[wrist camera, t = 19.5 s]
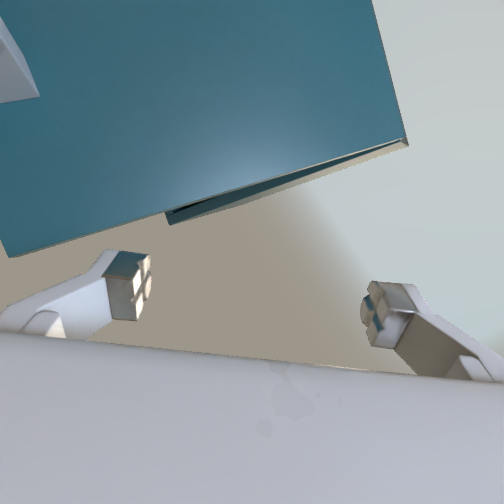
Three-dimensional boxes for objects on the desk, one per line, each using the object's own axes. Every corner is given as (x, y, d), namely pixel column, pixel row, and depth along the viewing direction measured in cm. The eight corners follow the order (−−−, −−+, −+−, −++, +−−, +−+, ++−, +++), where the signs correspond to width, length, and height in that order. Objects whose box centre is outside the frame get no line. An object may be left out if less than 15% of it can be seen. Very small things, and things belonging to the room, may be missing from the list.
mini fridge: (87, 1, 35) (169, 225, 39) (302, -237, 22) (400, 141, 25) (188, 47, 50) (240, 205, 54) (352, -76, 37) (408, 146, 40)
